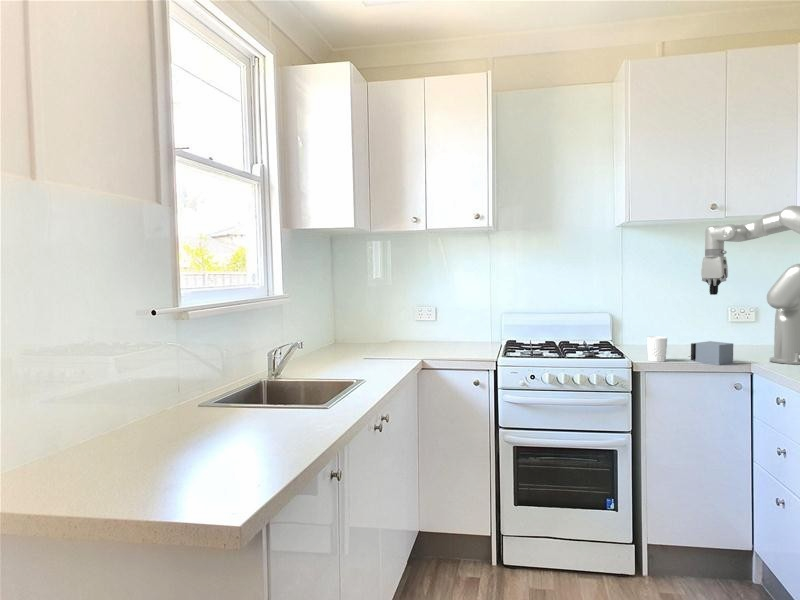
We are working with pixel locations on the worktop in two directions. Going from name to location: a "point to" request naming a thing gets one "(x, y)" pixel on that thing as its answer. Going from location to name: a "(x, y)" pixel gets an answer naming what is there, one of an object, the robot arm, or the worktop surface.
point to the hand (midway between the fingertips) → (713, 294)
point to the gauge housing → (714, 353)
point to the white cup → (657, 348)
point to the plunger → (693, 351)
